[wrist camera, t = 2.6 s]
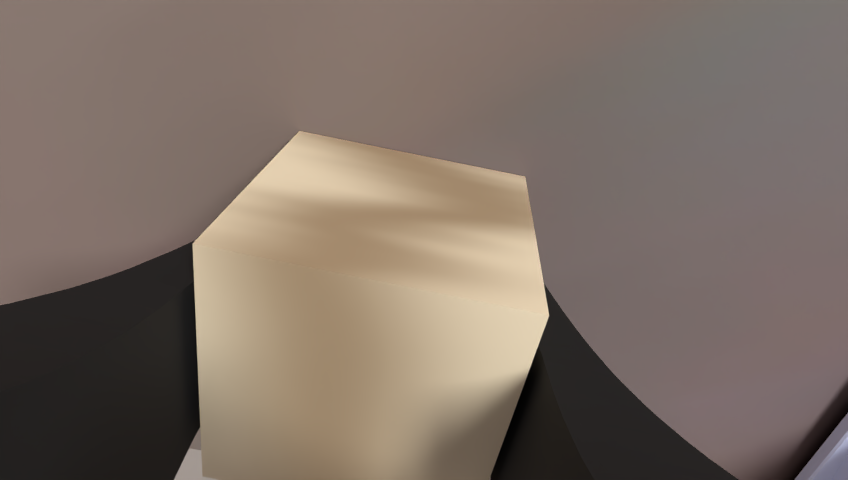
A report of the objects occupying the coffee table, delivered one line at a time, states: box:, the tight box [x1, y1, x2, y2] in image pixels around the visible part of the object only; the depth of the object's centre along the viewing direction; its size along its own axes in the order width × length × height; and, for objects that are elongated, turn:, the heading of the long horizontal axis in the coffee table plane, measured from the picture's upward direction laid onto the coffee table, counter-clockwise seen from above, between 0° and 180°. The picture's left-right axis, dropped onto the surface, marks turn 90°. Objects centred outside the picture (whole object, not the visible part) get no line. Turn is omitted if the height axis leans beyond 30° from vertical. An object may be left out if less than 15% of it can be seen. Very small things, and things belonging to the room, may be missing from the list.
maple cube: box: [193, 131, 549, 480], centre depth 11 cm, size 5×5×5 cm
